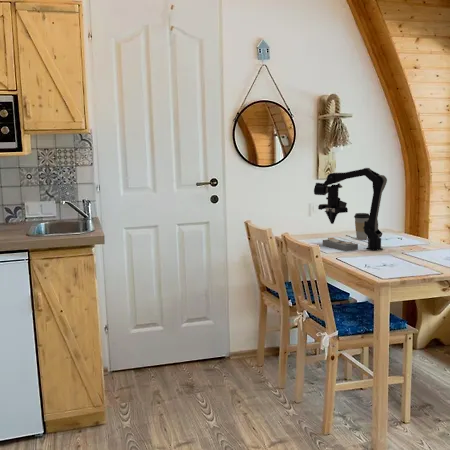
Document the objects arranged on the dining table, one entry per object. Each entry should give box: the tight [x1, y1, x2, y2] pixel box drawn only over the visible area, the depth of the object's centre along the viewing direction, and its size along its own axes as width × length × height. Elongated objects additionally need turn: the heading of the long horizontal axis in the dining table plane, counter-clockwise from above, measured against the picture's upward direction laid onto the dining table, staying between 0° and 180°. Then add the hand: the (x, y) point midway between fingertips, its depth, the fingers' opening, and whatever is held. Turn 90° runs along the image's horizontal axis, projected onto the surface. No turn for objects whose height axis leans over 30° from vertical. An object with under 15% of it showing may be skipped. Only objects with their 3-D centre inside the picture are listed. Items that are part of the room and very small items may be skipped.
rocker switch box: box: [322, 239, 359, 252], centre depth 286 cm, size 20×8×3 cm, turn 27°
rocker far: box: [327, 237, 340, 242], centre depth 290 cm, size 6×4×1 cm, turn 27°
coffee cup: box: [353, 212, 370, 241], centre depth 310 cm, size 9×9×15 cm
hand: (332, 223), depth 289 cm, fingers closed
